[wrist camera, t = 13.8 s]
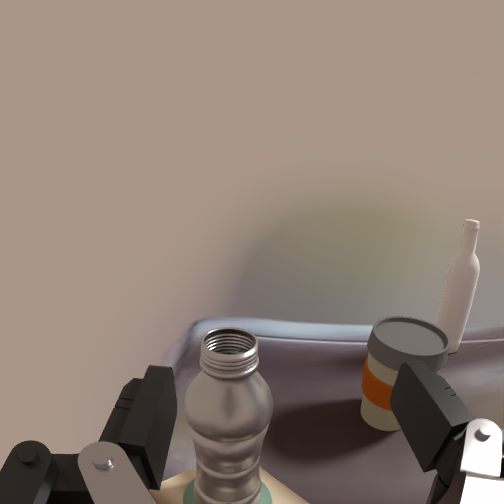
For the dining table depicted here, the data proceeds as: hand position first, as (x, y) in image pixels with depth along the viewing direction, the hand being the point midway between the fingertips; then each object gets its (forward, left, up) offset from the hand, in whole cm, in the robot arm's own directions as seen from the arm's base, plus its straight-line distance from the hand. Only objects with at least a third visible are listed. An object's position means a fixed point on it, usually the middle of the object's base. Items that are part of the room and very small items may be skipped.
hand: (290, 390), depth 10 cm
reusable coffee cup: (-34, -5, -28) cm, 44 cm away
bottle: (-65, -4, -28) cm, 71 cm away
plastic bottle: (-4, -8, -23) cm, 25 cm away
